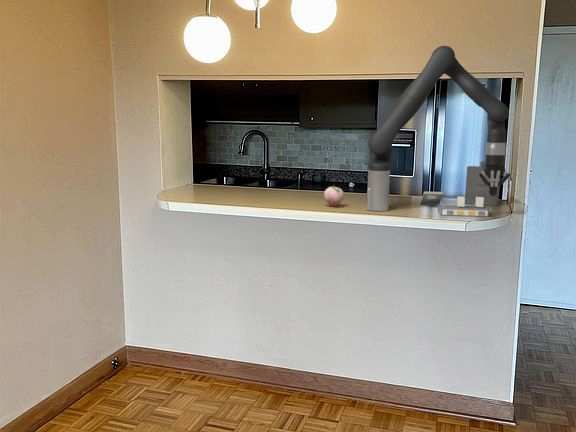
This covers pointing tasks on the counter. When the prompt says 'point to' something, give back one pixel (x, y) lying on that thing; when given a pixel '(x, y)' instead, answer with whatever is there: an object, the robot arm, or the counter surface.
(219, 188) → the counter surface
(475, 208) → the switch unit
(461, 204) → the slider left
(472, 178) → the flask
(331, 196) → the decorative fruit
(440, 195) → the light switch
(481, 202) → the slider right
